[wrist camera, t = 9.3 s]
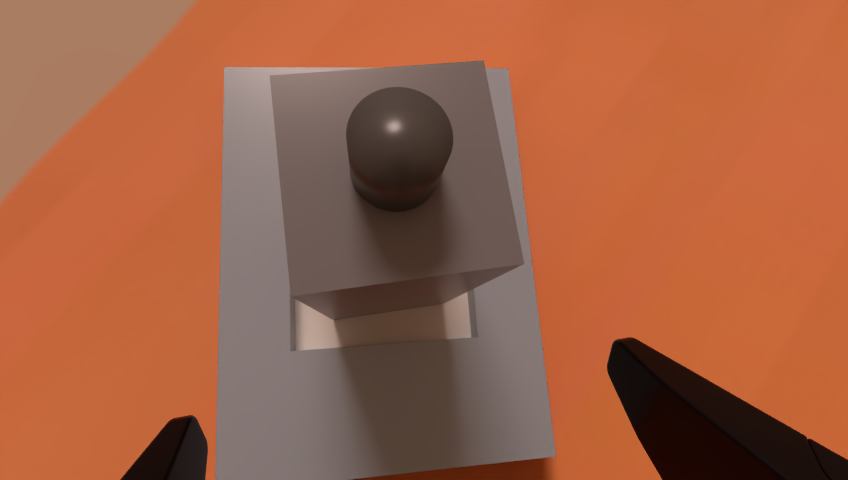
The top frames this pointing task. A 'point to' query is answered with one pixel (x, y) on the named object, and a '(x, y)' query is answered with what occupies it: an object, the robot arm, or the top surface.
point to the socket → (363, 340)
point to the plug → (391, 187)
